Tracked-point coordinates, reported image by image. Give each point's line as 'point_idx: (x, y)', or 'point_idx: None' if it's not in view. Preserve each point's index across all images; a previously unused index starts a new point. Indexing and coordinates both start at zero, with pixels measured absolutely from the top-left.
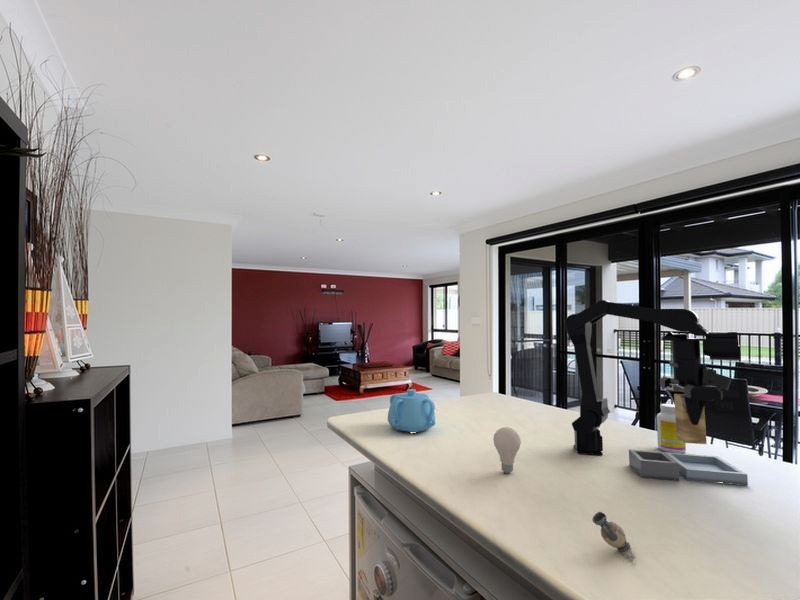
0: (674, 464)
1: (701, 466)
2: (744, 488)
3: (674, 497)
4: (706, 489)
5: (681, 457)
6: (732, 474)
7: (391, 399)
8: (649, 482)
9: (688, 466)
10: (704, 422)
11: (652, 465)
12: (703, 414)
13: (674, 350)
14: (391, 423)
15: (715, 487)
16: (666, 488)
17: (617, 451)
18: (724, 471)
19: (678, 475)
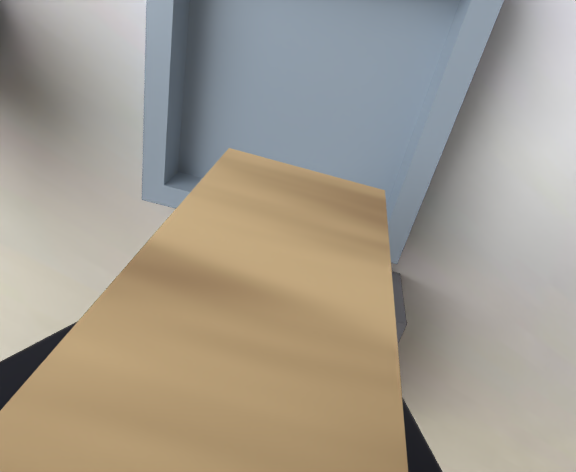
0: (398, 333)
1: (251, 60)
2: (528, 17)
3: (535, 382)
4: (497, 228)
5: (173, 126)
6: (482, 49)
7: None
8: (401, 375)
9: (260, 141)
10: (392, 316)
11: None
12: (393, 408)
13: None
14: None
15: (485, 170)
16: (460, 359)
17: (66, 295)
18: (450, 81)
19: (401, 290)
